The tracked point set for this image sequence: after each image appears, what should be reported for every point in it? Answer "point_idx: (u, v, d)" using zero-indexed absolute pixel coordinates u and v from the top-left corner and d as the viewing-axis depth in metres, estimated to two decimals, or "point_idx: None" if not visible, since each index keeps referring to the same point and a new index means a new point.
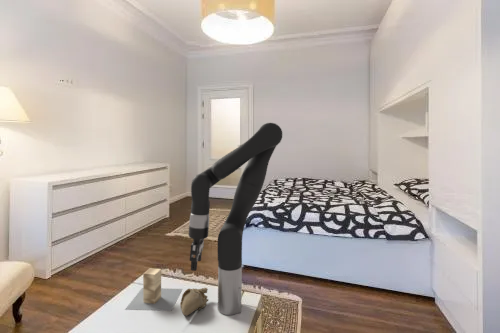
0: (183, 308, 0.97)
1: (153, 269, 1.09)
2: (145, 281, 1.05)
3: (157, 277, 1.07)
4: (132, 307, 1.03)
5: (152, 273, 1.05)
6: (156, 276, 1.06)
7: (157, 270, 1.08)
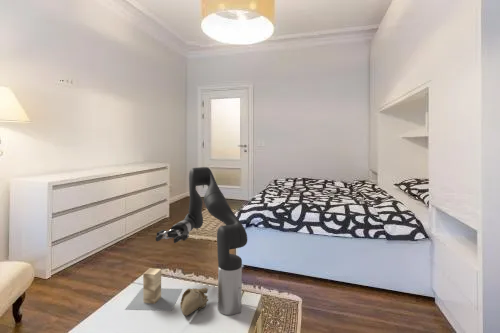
0: (183, 308, 0.97)
1: (153, 269, 1.09)
2: (145, 281, 1.05)
3: (157, 277, 1.07)
4: (132, 307, 1.03)
5: (152, 273, 1.05)
6: (156, 276, 1.06)
7: (157, 270, 1.08)
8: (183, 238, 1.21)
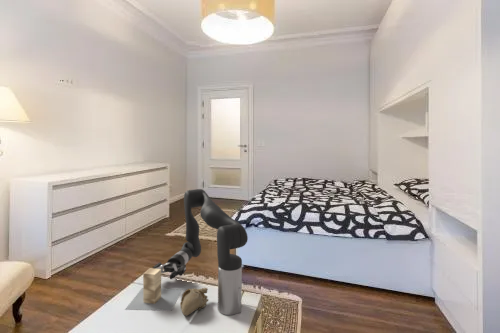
0: (183, 308, 0.97)
1: (153, 269, 1.09)
2: (145, 281, 1.05)
3: (157, 277, 1.07)
4: (132, 307, 1.03)
5: (152, 273, 1.05)
6: (156, 276, 1.06)
7: (157, 270, 1.08)
8: (180, 273, 1.18)
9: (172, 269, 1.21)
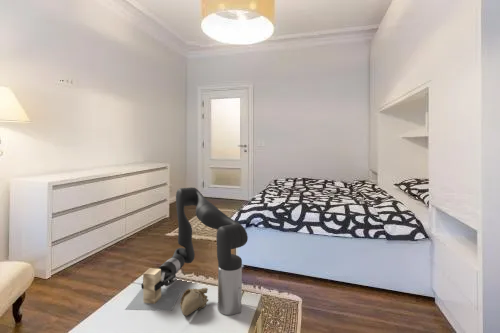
0: (183, 308, 0.97)
1: (153, 269, 1.09)
2: (145, 281, 1.05)
3: (157, 277, 1.07)
4: (132, 307, 1.03)
5: (152, 273, 1.05)
6: (156, 276, 1.06)
7: (157, 270, 1.08)
8: (165, 284, 1.09)
9: None
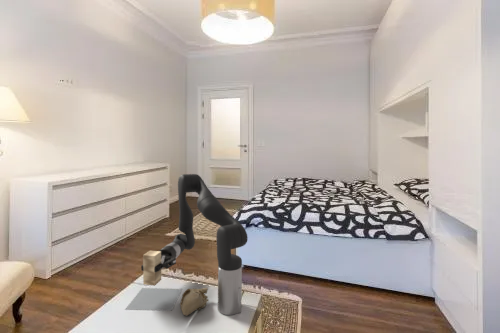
0: (183, 308, 0.97)
1: (153, 251, 1.08)
2: (145, 263, 1.05)
3: (157, 259, 1.06)
4: (132, 307, 1.03)
5: (152, 255, 1.05)
6: (156, 258, 1.05)
7: (157, 252, 1.08)
8: (165, 266, 1.08)
9: None
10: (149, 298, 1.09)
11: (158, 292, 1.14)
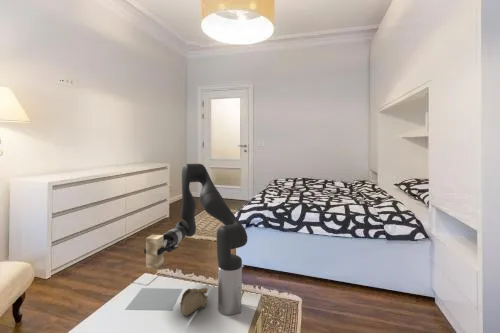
0: (183, 308, 0.97)
1: (155, 235, 1.10)
2: (147, 246, 1.06)
3: (159, 242, 1.08)
4: (132, 307, 1.03)
5: (154, 238, 1.06)
6: (159, 241, 1.07)
7: (159, 236, 1.09)
8: (168, 249, 1.10)
9: None
10: (149, 298, 1.09)
11: (158, 292, 1.14)
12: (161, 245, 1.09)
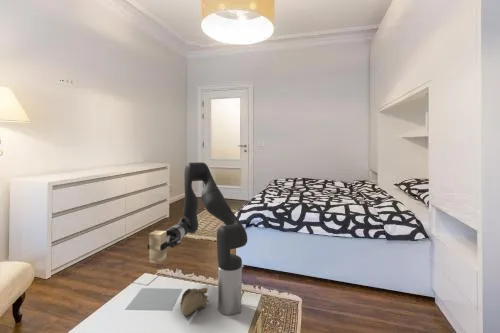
0: (183, 308, 0.97)
1: (159, 231, 1.12)
2: (151, 241, 1.09)
3: (163, 238, 1.10)
4: (132, 307, 1.03)
5: (158, 234, 1.08)
6: (162, 237, 1.09)
7: (163, 232, 1.11)
8: (170, 245, 1.12)
9: None
10: (149, 298, 1.09)
11: (158, 292, 1.14)
12: (164, 241, 1.11)
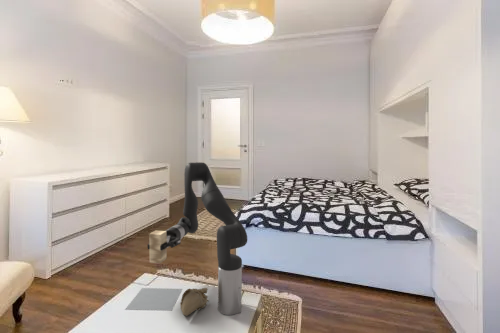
0: (183, 308, 0.97)
1: (159, 231, 1.12)
2: (151, 241, 1.09)
3: (163, 238, 1.10)
4: (132, 307, 1.03)
5: (158, 234, 1.08)
6: (162, 237, 1.09)
7: (163, 232, 1.11)
8: (170, 245, 1.12)
9: None
10: (149, 298, 1.09)
11: (158, 292, 1.14)
12: (164, 241, 1.11)
